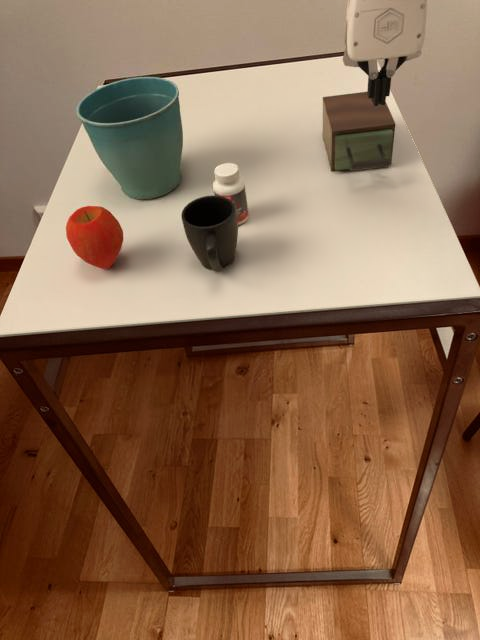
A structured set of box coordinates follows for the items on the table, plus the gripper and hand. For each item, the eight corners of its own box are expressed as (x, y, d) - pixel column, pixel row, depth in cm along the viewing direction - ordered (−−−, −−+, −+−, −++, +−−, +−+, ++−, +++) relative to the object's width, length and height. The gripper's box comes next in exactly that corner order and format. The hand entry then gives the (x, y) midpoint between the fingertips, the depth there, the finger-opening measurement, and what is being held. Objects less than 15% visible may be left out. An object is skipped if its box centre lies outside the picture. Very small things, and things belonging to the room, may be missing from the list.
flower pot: (104, 170, 106) (74, 89, 93) (187, 150, 107) (169, 67, 95) (110, 219, 94) (77, 133, 81) (204, 196, 95) (186, 108, 83)
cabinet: (391, 164, 95) (395, 123, 89) (331, 171, 96) (331, 131, 90) (377, 129, 104) (380, 89, 98) (322, 135, 105) (322, 96, 99)
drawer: (397, 183, 89) (401, 150, 85) (340, 189, 90) (341, 157, 85) (376, 131, 102) (379, 100, 97) (327, 136, 103) (327, 106, 98)
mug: (191, 296, 78) (178, 248, 71) (193, 245, 86) (182, 198, 79) (245, 289, 77) (237, 241, 70) (241, 240, 85) (234, 191, 78)
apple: (141, 252, 86) (123, 199, 78) (115, 286, 81) (93, 233, 73) (100, 244, 89) (78, 192, 81) (72, 276, 84) (46, 224, 76)
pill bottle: (223, 230, 88) (214, 181, 80) (215, 213, 91) (206, 165, 84) (253, 222, 88) (246, 172, 81) (243, 205, 92) (237, 156, 85)
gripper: (332, -27, 61) (331, 119, 75) (460, -45, 60) (435, 107, 73) (325, -43, 66) (324, 96, 80) (442, -60, 65) (422, 84, 78)
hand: (377, 101), depth 76 cm, fingers closed
